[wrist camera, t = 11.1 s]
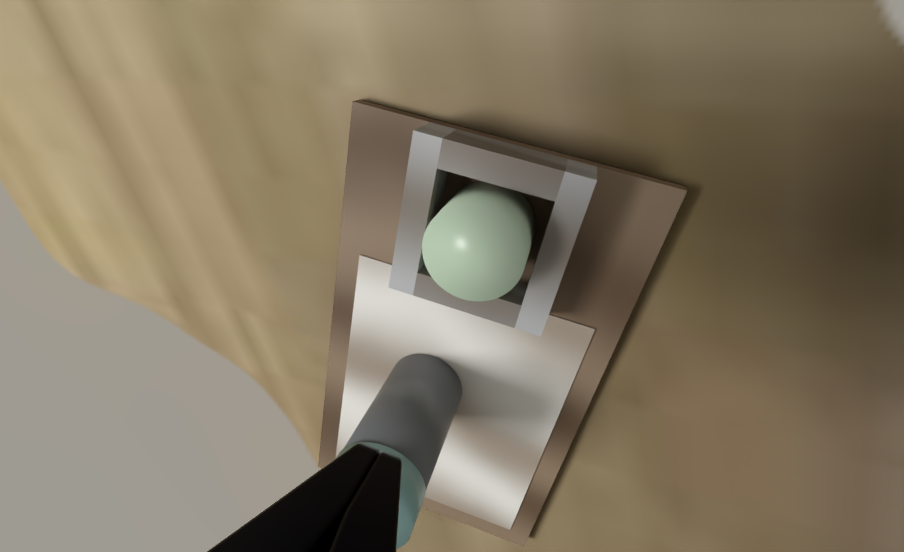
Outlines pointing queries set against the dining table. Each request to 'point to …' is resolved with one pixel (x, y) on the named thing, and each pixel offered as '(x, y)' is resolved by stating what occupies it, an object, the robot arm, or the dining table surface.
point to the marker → (411, 426)
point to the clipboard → (486, 303)
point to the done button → (480, 242)
